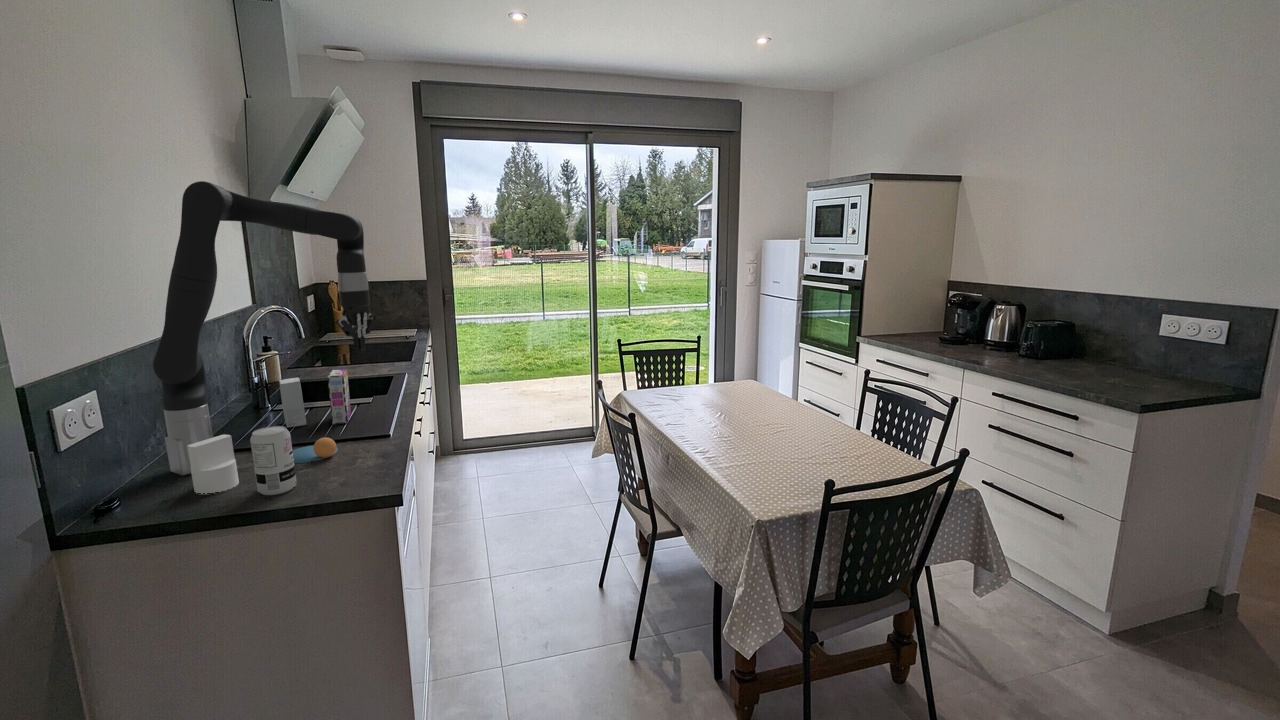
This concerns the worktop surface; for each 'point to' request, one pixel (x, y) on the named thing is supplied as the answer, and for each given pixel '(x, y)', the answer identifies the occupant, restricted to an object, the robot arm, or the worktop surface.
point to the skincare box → (292, 402)
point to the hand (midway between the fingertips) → (360, 350)
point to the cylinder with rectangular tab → (213, 465)
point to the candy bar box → (339, 396)
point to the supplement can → (273, 460)
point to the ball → (324, 447)
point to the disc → (307, 454)
